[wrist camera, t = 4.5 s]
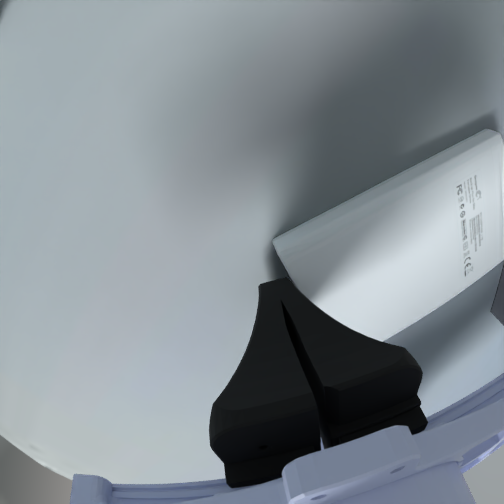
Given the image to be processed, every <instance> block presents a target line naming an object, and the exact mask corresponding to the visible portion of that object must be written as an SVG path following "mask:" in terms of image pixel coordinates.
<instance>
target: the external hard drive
mask: <svg viewBox="0 0 504 504" xmlns="http://www.w3.org/2000/svg"><path fill="white" fill-rule="evenodd" d="M272 241H273V245H274V247H275V250H276V252H277V254H278V256H279V258H280V260H281V261H282V263H283V265H284V267H285V269H286V271H287V272H288V274H289V276H290V278H291V280H292V281H293V283H294V285H295V286H296V288H297V289H298V290H299V291H300V292H301V293H302V294H303V295H305V296H306V297H307V298H308V299H309V300H310V301H311V302H312V303H314V304H315V305H316V306H317V307H319V308H320V309H321V310H322V311H324V312H325V313H326V314H328V315H329V316H331V317H332V318H334V319H335V320H337V321H338V322H340V323H342V324H343V325H345V326H347V327H349V328H351V329H352V330H355V331H357V332H359V333H361V334H363V335H365V336H368V337H370V338H373V339H376V340H378V341H381V342H383V341H384V340H386V339H388V338H390V337H391V336H393V335H395V334H397V333H398V332H400V331H402V330H403V329H405V328H407V327H408V326H410V325H412V324H413V323H415V322H416V321H418V320H420V319H421V318H423V317H424V316H426V315H428V314H429V313H431V312H432V311H434V310H435V309H437V308H438V307H440V306H441V305H443V304H444V303H446V302H447V301H449V300H450V299H452V298H453V297H455V296H456V295H458V294H459V293H460V292H462V291H463V290H465V289H466V288H467V287H469V286H470V285H471V284H473V283H474V282H476V281H477V280H478V279H480V278H481V277H482V276H484V275H485V274H486V273H487V272H489V271H490V270H491V269H493V268H494V267H495V266H497V265H498V264H499V263H501V262H502V261H503V260H504V143H503V139H502V137H501V134H500V133H499V132H496V131H493V130H490V129H487V128H486V129H484V130H482V131H480V132H478V133H477V134H475V135H473V136H471V137H468V138H466V139H465V140H463V141H461V142H459V143H457V144H455V145H453V146H451V147H449V148H447V149H445V150H443V151H441V152H439V153H437V154H436V155H434V156H432V157H430V158H428V159H426V160H424V161H422V162H420V163H418V164H416V165H414V166H412V167H410V168H408V169H406V170H404V171H402V172H401V173H399V174H397V175H395V176H393V177H391V178H389V179H387V180H385V181H383V182H381V183H379V184H378V185H376V186H374V187H372V188H370V189H368V190H366V191H364V192H362V193H360V194H358V195H357V196H355V197H353V198H351V199H349V200H347V201H345V202H343V203H341V204H339V205H338V206H336V207H333V208H331V209H329V210H328V211H326V212H324V213H322V214H320V215H318V216H316V217H314V218H312V219H310V220H308V221H306V222H304V223H302V224H300V225H299V226H297V227H295V228H293V229H291V230H289V231H287V232H285V233H283V234H281V235H279V236H278V237H276V238H274V239H273V240H272Z"/></svg>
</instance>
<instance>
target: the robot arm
mask: <svg viewBox="0 0 504 504" xmlns="http://www.w3.org/2000/svg"><path fill="white" fill-rule="evenodd" d="M258 288H259V302H258V309H257V315H256V320H255V324H254V327H253V331H252V335H251V338H250V341H249V343H248V346H247V349H246V351H245V353H244V356H243V358H242V360H241V362H240V364H239V366H238V368H237V370H236V371H235V373H234V375H233V376H232V378H231V380H230V381H229V383H228V385H227V386H226V388H225V389H224V390H223V392H222V393H221V394H220V396H219V397H218V398H217V399H216V401H215V402H214V403H213V406H212V411H211V416H210V425H209V436H210V446H211V448H212V450H213V451H214V452H215V454H216V455H217V456H218V457H219V458H220V459H221V461H222V462H223V463H224V467H225V476H226V478H225V479H217V480H209V481H199V482H188V483H172V484H112V483H111V482H110V481H108V480H107V479H105V478H103V477H100V476H95V475H83V474H74V476H73V483H72V491H71V498H70V504H476V502H475V500H474V498H473V496H472V494H471V492H470V490H469V488H468V485H467V483H466V481H465V479H464V477H463V475H462V474H463V473H464V472H466V471H467V470H469V469H470V468H472V467H473V466H475V465H476V464H478V463H479V462H481V461H482V460H483V459H485V458H486V457H488V456H489V455H490V454H492V453H493V452H494V451H495V450H497V449H498V448H499V447H501V446H502V445H503V444H504V373H503V374H501V375H500V376H498V377H497V378H495V379H494V380H492V381H491V382H489V383H488V384H486V385H484V386H483V387H481V388H480V389H478V390H476V391H475V392H473V393H471V394H470V395H468V396H466V397H465V398H463V399H461V400H459V401H457V402H456V403H454V404H452V405H450V406H448V407H446V408H445V409H443V410H441V411H439V412H437V413H435V414H433V415H431V416H429V417H427V418H426V417H425V415H424V413H423V411H422V410H421V408H420V405H421V401H420V399H419V397H418V396H417V392H418V389H419V386H420V383H421V380H422V374H423V372H422V370H421V368H420V366H419V365H418V363H417V362H416V360H415V359H414V358H413V357H412V355H411V354H410V353H409V352H408V351H407V350H406V349H405V348H403V347H399V346H396V345H392V344H388V343H384V342H381V341H378V340H376V339H373V338H370V337H368V336H365V335H363V334H361V333H359V332H357V331H355V330H352V329H351V328H349V327H347V326H345V325H343V324H342V323H340V322H338V321H337V320H335V319H334V318H332V317H331V316H329V315H328V314H326V313H325V312H324V311H322V310H321V309H320V308H319V307H317V306H316V305H315V304H314V303H312V302H311V301H310V300H309V299H308V298H307V297H306V296H305V295H303V294H302V293H301V292H300V291H299V290H298V289H297V288H296V286H295V285H294V284H293V283H292V282H291V281H290V279H288V278H287V277H285V278H282V279H278V280H274V281H270V282H266V283H262V284H260V285H259V287H258Z"/></svg>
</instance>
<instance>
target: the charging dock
mask: <svg viewBox="0 0 504 504" xmlns="http://www.w3.org/2000/svg"><path fill="white" fill-rule="evenodd" d="M491 313H492V314H493V315H494V316H495V317H496V318H497V319H498V320H499V321H500V322H501V323H502V324H503V325H504V267H503V271H502V275H501V279H500V282H499V286H498V289H497V293H496V296H495V299H494V303H493V306H492V309H491Z"/></svg>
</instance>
